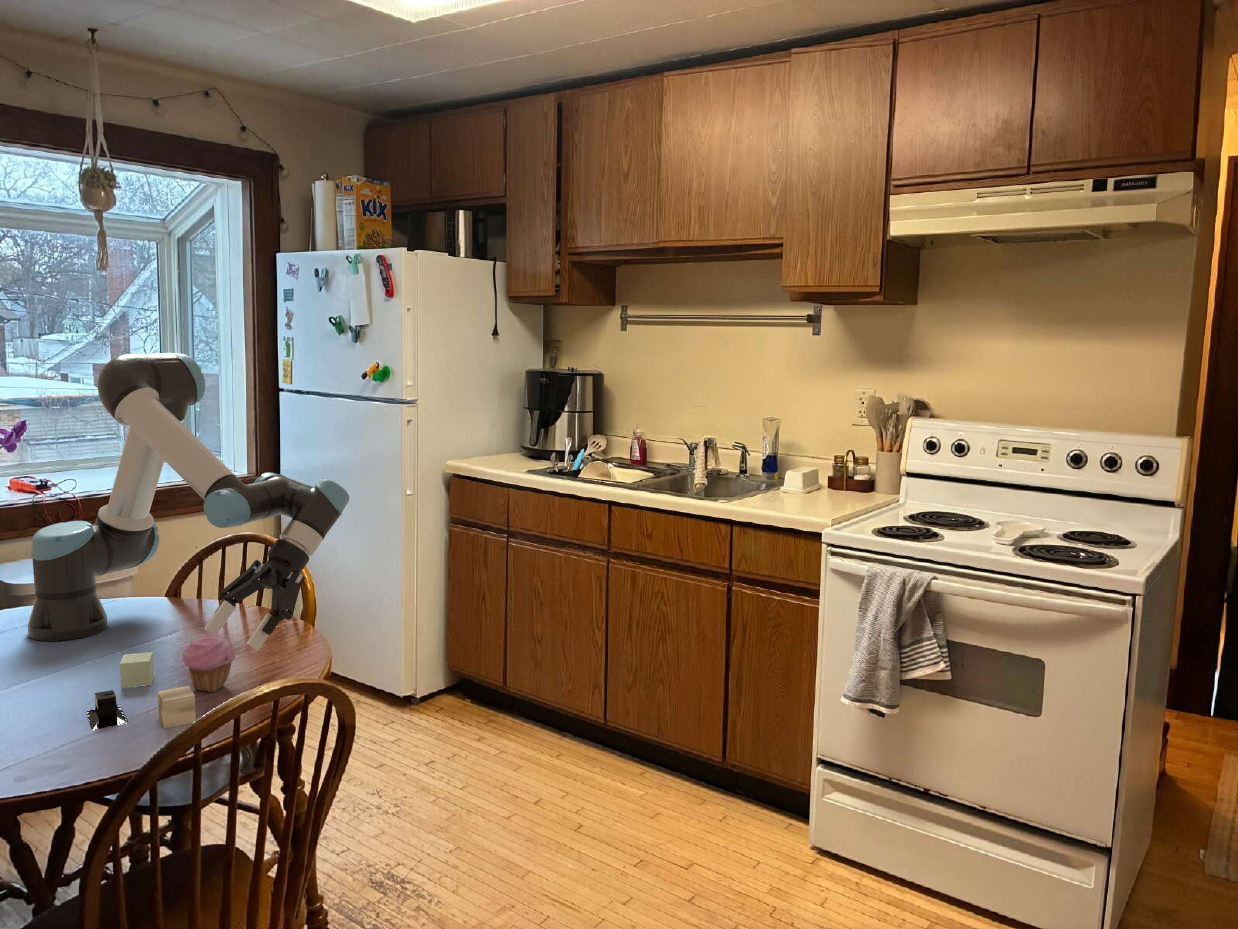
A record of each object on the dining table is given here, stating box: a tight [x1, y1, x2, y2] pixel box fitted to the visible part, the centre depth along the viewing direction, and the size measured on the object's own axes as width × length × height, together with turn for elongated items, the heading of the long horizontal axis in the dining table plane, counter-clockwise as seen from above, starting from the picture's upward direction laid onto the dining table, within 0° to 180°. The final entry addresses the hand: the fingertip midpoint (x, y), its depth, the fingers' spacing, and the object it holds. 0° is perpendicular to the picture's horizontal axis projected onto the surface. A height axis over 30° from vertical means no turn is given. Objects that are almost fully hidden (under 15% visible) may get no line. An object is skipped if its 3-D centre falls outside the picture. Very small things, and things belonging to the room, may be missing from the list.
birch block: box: [157, 685, 196, 730], centre depth 162 cm, size 5×5×5 cm
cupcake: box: [182, 635, 236, 693], centre depth 176 cm, size 9×9×10 cm
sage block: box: [119, 651, 155, 689], centre depth 178 cm, size 5×5×5 cm
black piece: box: [86, 689, 129, 731], centre depth 163 cm, size 12×7×5 cm, turn 36°
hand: (230, 640), depth 178 cm, fingers open, 13 cm apart
